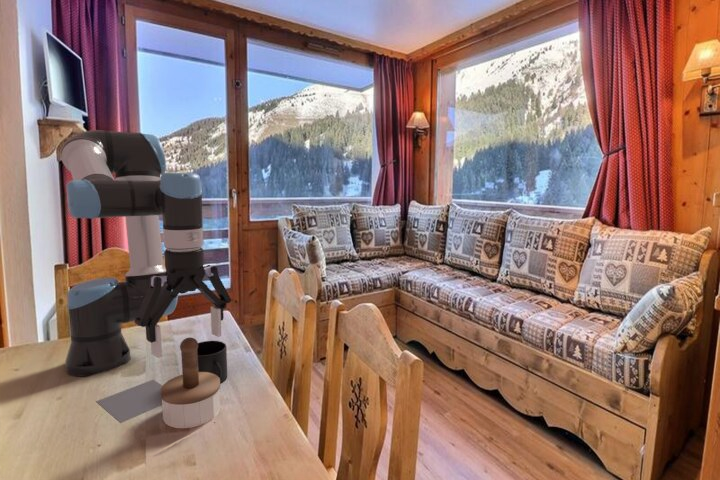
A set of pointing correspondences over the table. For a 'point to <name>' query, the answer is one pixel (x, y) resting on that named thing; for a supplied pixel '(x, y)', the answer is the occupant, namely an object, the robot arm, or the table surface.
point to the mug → (213, 358)
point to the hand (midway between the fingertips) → (188, 344)
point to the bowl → (191, 412)
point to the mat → (133, 401)
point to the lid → (190, 379)
